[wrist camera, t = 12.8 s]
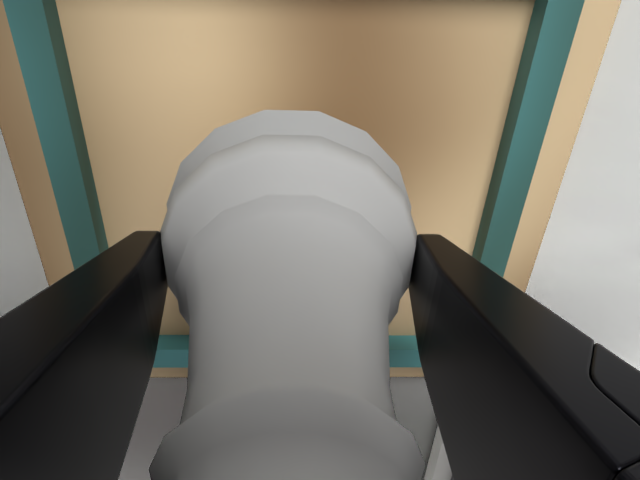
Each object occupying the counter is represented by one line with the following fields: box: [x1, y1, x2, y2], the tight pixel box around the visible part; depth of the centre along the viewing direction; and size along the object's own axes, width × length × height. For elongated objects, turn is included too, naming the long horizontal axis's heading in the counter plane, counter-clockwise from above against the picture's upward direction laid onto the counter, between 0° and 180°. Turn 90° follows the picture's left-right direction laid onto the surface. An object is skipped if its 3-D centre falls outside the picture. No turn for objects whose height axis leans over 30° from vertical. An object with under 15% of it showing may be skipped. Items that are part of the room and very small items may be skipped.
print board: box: [0, 0, 621, 377], centre depth 11 cm, size 11×11×1 cm
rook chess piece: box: [149, 110, 426, 480], centre depth 7 cm, size 4×4×8 cm
